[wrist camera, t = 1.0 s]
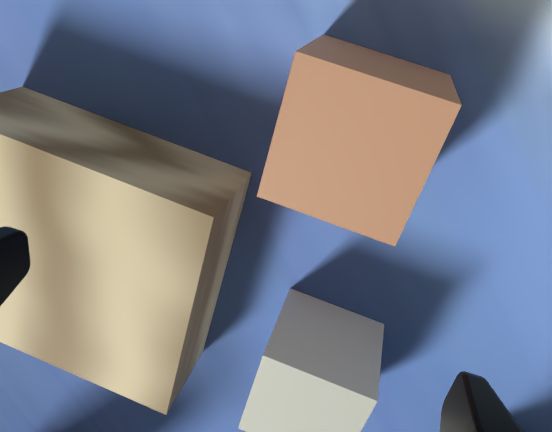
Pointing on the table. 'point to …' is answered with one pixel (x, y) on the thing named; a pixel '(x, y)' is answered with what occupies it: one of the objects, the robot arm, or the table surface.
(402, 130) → the terracotta cube
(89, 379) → the maple block
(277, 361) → the white cube
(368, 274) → the table surface
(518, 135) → the table surface
